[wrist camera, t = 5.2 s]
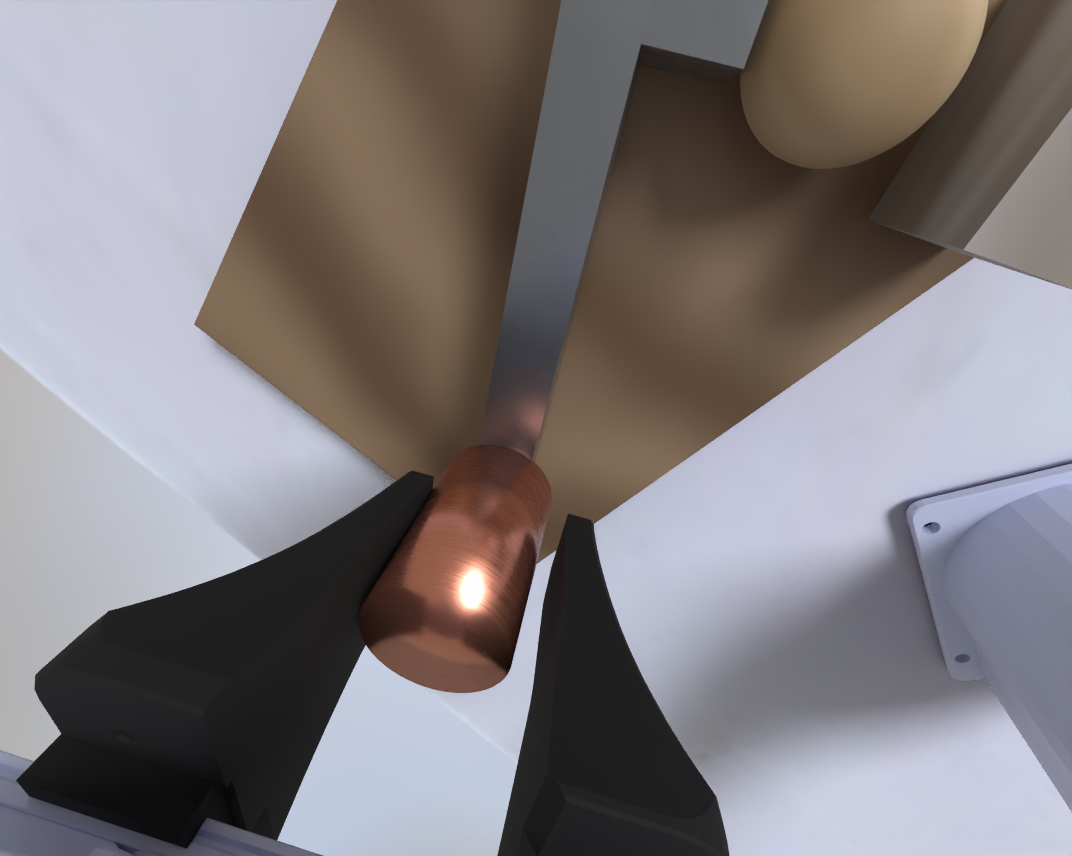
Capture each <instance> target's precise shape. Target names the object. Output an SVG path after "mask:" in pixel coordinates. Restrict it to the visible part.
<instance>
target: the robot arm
mask: <svg viewBox="0 0 1072 856" xmlns="http://www.w3.org/2000/svg"><path fill="white" fill-rule="evenodd" d="M433 480H434V476H431V475H427V474H424V473H420V472H416V471H413V470H412V471H410V472H408V473H407V474H405V475H404V476H402V477H401V478H400V479H398V480H397V481H396V482H394V483H393V484H391V485H390V486H389V487H387V488H386V489H385V490H383V491H382V492H380V493H379V494H377V495H376V496H375V497H373V498H372V499H370V500H369V501H367V502H366V503H364V504H363V505H361V506H360V507H358V508H357V509H355V510H354V511H352V512H351V513H349V514H347V515H346V516H344V517H343V518H341V519H339V520H338V521H336V522H334V523H333V524H331V525H329V526H327V527H326V528H324V529H322V530H321V531H319V532H317V533H316V534H314V535H312V536H310V537H308V538H306V539H305V540H303V541H301V542H299V543H297V544H295V545H293V546H291V547H289V548H287V549H285V550H283V551H281V552H279V553H277V554H274V555H272V556H270V557H268V558H265V559H263V560H261V561H259V562H256V563H254V564H251V565H249V566H247V567H245V568H242V569H240V570H237V571H235V572H232V573H230V574H227V575H224V576H222V577H219V578H216V579H213V580H211V581H208V582H205V583H202V584H199V585H196V586H193V587H191V588H187V589H184V590H181V591H178V592H175V593H172V594H168V595H165V596H161V597H158V598H155V599H151V600H148V601H144V602H140V603H137V604H133V605H130V606H126V607H122V608H119V609H115V610H111V611H108V612H107V613H106V614H105V615H103V616H102V617H101V618H100V619H99V620H97V621H96V622H95V623H93V624H92V625H91V626H90V627H89V628H87V629H86V630H85V631H84V632H83V633H82V634H81V635H79V636H78V637H77V638H76V639H75V640H74V641H73V642H72V643H70V644H69V645H68V646H67V647H66V648H65V649H64V650H62V651H61V652H60V653H59V654H58V655H57V656H56V657H55V658H54V659H52V660H51V661H50V662H49V663H48V664H47V665H46V666H45V667H43V668H42V669H41V670H40V671H39V672H38V673H37V674H36V676H35V691H36V693H37V695H38V698H39V700H40V701H41V703H42V704H43V706H44V707H45V709H46V710H47V712H48V714H49V715H50V716H51V718H52V720H53V721H54V723H55V724H56V726H57V727H58V729H59V730H60V732H61V735H60V736H59V737H58V738H57V739H56V740H55V741H54V742H53V743H52V744H51V745H50V746H49V747H48V748H47V749H46V750H45V751H44V752H43V753H42V754H41V755H40V756H39V757H38V758H37V759H36V760H35V761H32V760H29V759H26V758H22V757H19V756H16V755H13V754H10V753H7V752H4V751H1V750H0V856H322V855H319V854H316V853H313V852H310V851H307V850H304V849H301V848H298V847H295V846H292V845H289V844H286V843H283V842H280V841H277V839H278V837H279V834H280V832H281V830H282V827H283V825H284V822H285V820H286V818H287V815H288V813H289V811H290V808H291V806H292V804H293V801H294V799H295V796H296V794H297V792H298V789H299V787H300V785H301V782H302V780H303V778H304V776H305V773H306V771H307V769H308V767H309V764H310V762H311V760H312V757H313V755H314V753H315V751H316V748H317V746H318V744H319V742H320V740H321V737H322V735H323V733H324V731H325V728H326V726H327V724H328V722H329V720H330V718H331V715H332V713H333V711H334V708H335V707H336V705H337V703H338V700H339V698H340V696H341V694H342V692H343V690H344V688H345V685H346V683H347V681H348V679H349V677H350V675H351V673H352V671H353V669H354V667H355V665H356V663H357V661H358V659H359V657H360V654H361V652H362V651H363V649H364V647H365V645H366V644H365V642H364V640H363V638H362V636H361V634H360V630H359V624H358V618H359V613H360V610H361V607H362V606H363V604H364V602H365V601H366V599H367V597H368V596H369V594H370V592H371V591H372V589H373V588H374V586H375V584H376V583H377V581H378V579H379V578H380V576H381V574H382V573H383V571H384V569H385V568H386V566H387V564H388V563H389V561H390V559H391V558H392V556H393V554H394V553H395V551H396V550H397V548H398V546H399V545H400V543H401V541H402V540H403V538H404V536H405V535H406V533H407V531H408V530H409V528H410V526H411V525H412V523H413V521H414V520H415V518H416V517H417V515H418V513H419V512H420V510H421V508H422V507H423V505H424V503H425V502H426V500H427V498H428V497H429V495H430V493H431V492H432V490H433ZM906 515H907V519H908V523H909V526H910V530H911V534H912V538H913V542H914V546H915V549H916V553H917V557H918V561H919V565H920V568H921V572H922V576H923V580H924V584H925V588H926V591H927V595H928V599H929V603H930V607H931V610H932V614H933V618H934V622H935V626H936V630H937V633H938V637H939V641H940V645H941V649H942V652H943V656H944V660H945V664H946V668H947V670H948V671H949V673H950V675H951V676H952V678H954V679H956V680H959V681H975V680H984V679H985V680H986V681H987V683H988V684H989V686H990V687H991V689H992V690H993V692H994V694H995V695H996V697H997V698H998V700H999V701H1000V703H1001V704H1002V706H1003V707H1004V709H1005V710H1006V712H1007V713H1008V715H1009V717H1010V718H1011V720H1012V721H1013V723H1014V724H1015V726H1016V727H1017V729H1018V730H1019V732H1020V733H1021V735H1022V737H1023V738H1024V740H1025V741H1026V743H1027V744H1028V746H1029V747H1030V749H1031V750H1032V752H1033V753H1034V755H1035V756H1036V758H1037V760H1038V761H1039V763H1040V764H1041V766H1042V767H1043V769H1044V770H1045V772H1046V773H1047V775H1048V776H1049V778H1050V779H1051V781H1052V783H1053V784H1054V786H1055V787H1056V789H1057V790H1058V792H1059V793H1060V795H1061V796H1062V798H1063V799H1064V801H1065V803H1066V804H1067V806H1068V807H1069V809H1070V810H1071V812H1072V464H1068V465H1063V466H1059V467H1055V468H1051V469H1047V470H1043V471H1038V472H1034V473H1030V474H1026V475H1022V476H1018V477H1013V478H1009V479H1005V480H1001V481H997V482H993V483H988V484H984V485H980V486H976V487H972V488H967V489H963V490H959V491H955V492H951V493H947V494H942V495H938V496H934V497H930V498H926V499H922V500H919V501H916V502H914V503H913V504H911V505H910V506H909V507H908V509H907V513H906ZM930 522H933V523H932V524H931V525H929V526H924V525H925V524H927V523H930ZM498 856H729V850H728V843H727V838H726V834H725V830H724V825H723V821H722V817H721V813H720V809H719V805H718V801H717V798H716V796H715V794H714V793H713V791H712V790H711V788H710V787H709V785H708V784H707V783H706V781H705V780H704V778H703V777H702V775H701V774H700V773H699V771H698V770H697V768H696V767H695V765H694V764H693V762H692V761H691V759H690V758H689V756H688V755H687V753H686V752H685V750H684V749H683V747H682V745H681V744H680V742H679V740H678V739H677V737H676V736H675V734H674V732H673V731H672V729H671V727H670V726H669V724H668V722H667V721H666V719H665V717H664V715H663V714H662V712H661V710H660V708H659V706H658V704H657V703H656V701H655V699H654V697H653V695H652V694H651V692H650V690H649V688H648V686H647V684H646V683H645V681H644V679H643V677H642V675H641V672H640V670H639V668H638V666H637V664H636V662H635V660H634V658H633V656H632V653H631V651H630V649H629V647H628V644H627V642H626V640H625V637H624V635H623V632H622V630H621V627H620V624H619V622H618V619H617V616H616V614H615V611H614V608H613V605H612V602H611V599H610V596H609V593H608V589H607V586H606V582H605V579H604V575H603V572H602V568H601V564H600V560H599V555H598V551H597V545H596V540H595V533H594V524H593V522H592V521H591V520H590V519H586V518H583V517H579V516H575V515H572V514H568V515H567V518H566V522H565V525H564V528H563V531H562V535H561V538H560V541H559V544H558V548H557V551H556V554H555V557H554V561H553V564H552V567H551V571H550V576H549V580H548V585H547V589H546V593H545V598H544V602H543V610H542V618H541V626H540V634H539V642H538V651H537V659H536V667H535V676H534V684H533V691H532V697H531V703H530V708H529V713H528V718H527V722H526V727H525V732H524V737H523V741H522V746H521V751H520V755H519V760H518V765H517V770H516V774H515V779H514V784H513V788H512V792H511V797H510V802H509V806H508V811H507V815H506V820H505V824H504V829H503V833H502V838H501V842H500V847H499V852H498Z"/></svg>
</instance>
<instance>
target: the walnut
mask: <svg viewBox="0 0 1072 856" xmlns="http://www.w3.org/2000/svg"><path fill="white" fill-rule="evenodd" d="M987 7H988V0H768V3H767V6H766V9H765V11H764V14H763V17H762V20H761V22H760V25H759V28H758V31H757V34H756V36H755V39H754V42H753V45H752V48H751V50H750V53H749V56H748V59H747V61H746V64H745V67H744V69H743V70H742V71H741V74H740V90H741V100H742V105H743V110H744V113H745V116H746V119H747V122H748V124H749V126H750V128H751V130H752V132H753V134H754V135H755V136H756V138H757V139H758V141H759V142H760V143H761V144H762V145H763V146H764V147H765V148H766V149H767V150H768V151H769V152H771V153H772V154H773V155H775V156H776V157H778V158H780V159H782V160H784V161H786V162H788V163H790V164H793V165H797V166H800V167H805V168H811V169H830V168H838V167H845V166H849V165H853V164H857V163H860V162H863V161H865V160H868V159H870V158H873V157H875V156H877V155H879V154H881V153H883V152H885V151H887V150H889V149H891V148H892V147H894V146H896V145H897V144H899V143H900V142H902V141H903V140H905V139H906V138H907V137H909V136H910V135H911V134H913V133H914V132H915V131H916V130H918V129H919V128H920V127H921V126H922V125H923V124H924V123H925V122H926V121H927V120H928V119H929V118H931V117H932V116H933V115H934V114H935V113H936V111H937V110H938V109H939V108H940V107H941V106H942V105H943V104H944V102H945V101H946V100H947V99H948V98H949V96H950V95H951V93H952V92H953V91H954V89H955V88H956V87H957V85H958V84H959V82H960V80H961V79H962V77H963V75H964V74H965V72H966V70H967V69H968V67H969V65H970V63H971V60H972V58H973V56H974V54H975V52H976V49H977V47H978V44H979V41H980V38H981V36H982V32H983V28H984V24H985V20H986V15H987Z"/></svg>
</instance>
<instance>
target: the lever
mask: <svg viewBox="0 0 1072 856" xmlns="http://www.w3.org/2000/svg"><path fill="white" fill-rule="evenodd" d="M767 3H768V0H561V5H560V10H559V15H558V21H557V26H556V32H555V37H554V42H553V48H552V53H551V59H550V64H549V69H548V75H547V80H546V86H545V91H544V96H543V102H542V107H541V113H540V118H539V123H538V129H537V134H536V140H535V145H534V150H533V156H532V161H531V167H530V172H529V177H528V183H527V188H526V194H525V199H524V204H523V210H522V215H521V221H520V226H519V231H518V237H517V242H516V248H515V253H514V258H513V264H512V269H511V275H510V280H509V286H508V291H507V296H506V302H505V307H504V313H503V318H502V323H501V329H500V334H499V340H498V345H497V350H496V356H495V361H494V367H493V372H492V377H491V383H490V388H489V394H488V399H487V404H486V410H485V415H484V421H483V426H482V431H481V437H480V442H479V445H476V446H472V447H469V448H466V449H464V450H462V451H461V452H459V453H458V454H457V455H455V456H454V457H453V458H452V459H451V461H450V462H449V464H448V465H447V467H446V469H445V470H444V472H443V473H442V475H441V477H440V478H439V480H438V482H437V483H436V485H435V487H434V488H433V490H432V492H431V493H430V495H429V497H428V498H427V500H426V502H425V503H424V505H423V507H422V508H421V510H420V512H419V513H418V515H417V517H416V518H415V520H414V521H413V523H412V525H411V526H410V528H409V530H408V531H407V533H406V535H405V536H404V538H403V540H402V541H401V543H400V545H399V546H398V548H397V550H396V551H395V553H394V554H393V556H392V558H391V559H390V561H389V563H388V564H387V566H386V568H385V569H384V571H383V573H382V574H381V576H380V578H379V579H378V581H377V583H376V584H375V586H374V588H373V589H372V591H371V592H370V594H369V596H368V597H367V599H366V601H365V602H364V604H363V606H362V607H361V610H360V613H359V618H358V624H359V630H360V634H361V636H362V638H363V640H364V642H365V644H366V645H367V647H368V648H369V650H370V651H371V652H372V653H373V654H374V655H375V657H376V658H377V659H378V660H379V661H381V662H382V663H383V664H384V665H385V666H387V667H388V668H389V669H391V670H392V671H394V672H395V673H397V674H398V675H400V676H402V677H404V678H406V679H408V680H410V681H412V682H414V683H417V684H419V685H422V686H425V687H428V688H431V689H435V690H440V691H445V692H453V693H470V692H477V691H482V690H486V689H488V688H491V687H493V686H495V685H496V684H498V683H500V682H501V681H502V680H503V679H504V678H505V677H506V675H507V674H508V672H509V670H510V668H511V664H512V660H513V656H514V652H515V648H516V644H517V640H518V636H519V632H520V628H521V624H522V620H523V616H524V612H525V608H526V604H527V600H528V596H529V592H530V588H531V584H532V580H533V576H534V571H535V567H536V563H537V559H538V555H539V551H540V547H541V543H542V539H543V535H544V531H545V527H546V523H547V519H548V515H549V511H550V507H551V502H552V493H551V488H550V484H549V482H548V479H547V477H546V476H545V474H544V472H543V471H542V470H541V469H540V467H539V466H538V465H537V464H536V463H535V460H536V456H537V452H538V448H539V445H540V441H541V437H542V433H543V430H544V426H545V422H546V418H547V415H548V411H549V407H550V403H551V400H552V396H553V392H554V388H555V385H556V381H557V377H558V373H559V370H560V366H561V362H562V358H563V355H564V351H565V347H566V343H567V340H568V336H569V332H570V328H571V325H572V321H573V317H574V313H575V310H576V306H577V302H578V298H579V295H580V291H581V287H582V283H583V280H584V276H585V272H586V268H587V265H588V261H589V257H590V253H591V250H592V246H593V242H594V238H595V235H596V231H597V227H598V223H599V220H600V216H601V212H602V208H603V205H604V201H605V197H606V193H607V190H608V186H609V182H610V178H611V175H612V171H613V167H614V163H615V160H616V156H617V152H618V148H619V145H620V141H621V137H622V133H623V130H624V126H625V122H626V118H627V115H628V111H629V107H630V103H631V100H632V96H633V92H634V88H635V85H636V81H637V77H638V73H639V70H640V66H641V65H642V66H646V67H650V68H654V69H658V70H662V71H666V72H670V73H674V74H678V75H682V76H686V77H690V78H694V79H698V80H702V81H706V82H710V83H714V84H718V85H723V84H725V83H726V82H727V81H729V80H730V79H731V78H733V77H734V76H735V75H737V74H738V73H739V72H741V71H742V70H743V69H744V67H745V64H746V61H747V59H748V56H749V53H750V50H751V48H752V45H753V42H754V39H755V36H756V34H757V31H758V28H759V25H760V22H761V20H762V17H763V14H764V11H765V9H766V6H767Z"/></svg>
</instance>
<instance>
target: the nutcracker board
mask: <svg viewBox="0 0 1072 856" xmlns="http://www.w3.org/2000/svg"><path fill="white" fill-rule="evenodd" d="M560 5H561V0H337V3H336V5H335V7H334V9H333V12H332V14H331V16H330V18H329V21H328V23H327V25H326V27H325V30H324V32H323V34H322V36H321V39H320V41H319V43H318V45H317V48H316V50H315V52H314V55H313V57H312V59H311V61H310V64H309V66H308V68H307V70H306V73H305V75H304V77H303V79H302V82H301V84H300V86H299V88H298V91H297V93H296V95H295V98H294V100H293V102H292V104H291V107H290V109H289V111H288V113H287V116H286V118H285V120H284V122H283V125H282V127H281V129H280V131H279V134H278V136H277V138H276V141H275V143H274V145H273V147H272V150H271V152H270V154H269V156H268V159H267V161H266V163H265V165H264V168H263V170H262V172H261V174H260V177H259V179H258V181H257V183H256V186H255V188H254V190H253V193H252V195H251V197H250V199H249V202H248V204H247V206H246V208H245V211H244V213H243V215H242V217H241V220H240V222H239V224H238V226H237V229H236V231H235V233H234V236H233V238H232V240H231V242H230V245H229V247H228V249H227V251H226V254H225V256H224V258H223V260H222V263H221V265H220V267H219V269H218V272H217V274H216V276H215V279H214V281H213V283H212V285H211V288H210V290H209V292H208V294H207V297H206V299H205V301H204V303H203V306H202V308H201V310H200V312H199V315H198V317H197V319H196V321H195V324H194V325H196V326H197V327H198V328H200V329H201V330H202V331H203V332H205V333H206V334H207V335H209V336H210V337H211V338H213V339H214V340H215V341H216V342H218V343H219V344H220V345H222V346H223V347H224V348H226V349H227V350H228V351H229V352H231V353H232V354H233V355H235V356H236V357H237V358H239V359H240V360H241V361H242V362H244V363H245V364H246V365H248V366H249V367H250V368H252V369H253V370H254V371H255V372H257V373H258V374H259V375H261V376H262V377H263V378H265V379H266V380H267V381H268V382H270V383H271V384H272V385H274V386H275V387H276V388H278V389H279V390H280V391H281V392H283V393H284V394H285V395H287V396H288V397H289V398H291V399H292V400H293V401H294V402H296V403H297V404H298V405H300V406H301V407H302V408H304V409H305V410H306V411H307V412H309V413H310V414H311V415H313V416H314V417H315V418H317V419H318V420H319V421H320V422H322V423H323V424H324V425H326V426H327V427H328V428H330V429H331V430H332V431H333V432H335V433H336V434H337V435H339V436H340V437H341V438H343V439H344V440H345V441H346V442H348V443H349V444H350V445H352V446H353V447H354V448H356V449H357V450H358V451H359V452H361V453H362V454H363V455H365V456H366V457H367V458H369V459H370V460H371V461H372V462H374V463H375V464H376V465H378V466H379V467H380V468H382V469H383V470H384V471H385V472H387V473H388V474H389V475H391V476H392V477H393V478H395V479H396V480H398V479H400V478H401V477H402V476H404V475H405V474H407V473H408V472H410V471H412V470H413V471H416V472H420V473H424V474H427V475H431V476H434V480H433V488H434V487H435V485H436V483H437V482H438V480H439V478H440V477H441V475H442V473H443V472H444V470H445V469H446V467H447V465H448V464H449V462H450V461H451V459H452V458H453V457H454V456H455V455H457V454H458V453H459V452H461V451H462V450H464V449H466V448H469V447H472V446H476V445H479V442H480V437H481V431H482V426H483V421H484V415H485V410H486V404H487V399H488V394H489V388H490V383H491V377H492V372H493V367H494V361H495V356H496V350H497V345H498V340H499V334H500V329H501V323H502V318H503V313H504V307H505V302H506V296H507V291H508V286H509V280H510V275H511V269H512V264H513V258H514V253H515V248H516V242H517V237H518V231H519V226H520V221H521V215H522V210H523V204H524V199H525V194H526V188H527V183H528V177H529V172H530V167H531V161H532V156H533V150H534V145H535V140H536V134H537V129H538V123H539V118H540V113H541V107H542V102H543V96H544V91H545V86H546V80H547V75H548V69H549V64H550V59H551V53H552V48H553V42H554V37H555V32H556V26H557V21H558V15H559V10H560ZM740 74H741V72H739V73H738V74H737V75H735V76H734V77H733V78H731V79H730V80H729V81H727V82H726V83H725V84H723V85H718V84H714V83H710V82H706V81H702V80H698V79H694V78H690V77H686V76H682V75H678V74H674V73H670V72H666V71H662V70H658V69H654V68H650V67H646V66H642V65H641V66H640V70H639V73H638V77H637V81H636V85H635V88H634V92H633V96H632V100H631V103H630V107H629V111H628V115H627V118H626V122H625V126H624V130H623V133H622V137H621V141H620V145H619V148H618V152H617V156H616V160H615V163H614V167H613V171H612V175H611V178H610V182H609V186H608V190H607V193H606V197H605V201H604V205H603V208H602V212H601V216H600V220H599V223H598V227H597V231H596V235H595V238H594V242H593V246H592V250H591V253H590V257H589V261H588V265H587V268H586V272H585V276H584V280H583V283H582V287H581V291H580V295H579V298H578V302H577V306H576V310H575V313H574V317H573V321H572V325H571V328H570V332H569V336H568V340H567V343H566V347H565V351H564V355H563V358H562V362H561V366H560V370H559V373H558V377H557V381H556V385H555V388H554V392H553V396H552V400H551V403H550V407H549V411H548V415H547V418H546V422H545V426H544V430H543V433H542V437H541V441H540V445H539V448H538V452H537V456H536V460H535V463H536V464H537V465H538V466H539V467H540V469H541V470H542V471H543V472H544V474H545V476H546V477H547V479H548V482H549V484H550V488H551V493H552V502H551V507H550V511H549V515H548V519H547V523H546V527H545V531H544V535H543V539H542V543H541V547H540V551H539V555H538V559H537V563H539V562H540V561H541V560H543V559H544V558H546V557H547V556H549V555H550V554H551V553H553V552H554V551H556V550H557V548H558V544H559V541H560V538H561V535H562V531H563V528H564V525H565V522H566V518H567V515H568V514H572V515H575V516H579V517H583V518H586V519H590V520H591V521H592V522H593V524H594V523H596V522H597V521H599V520H600V519H601V518H603V517H604V516H606V515H607V514H609V513H610V512H611V511H613V510H614V509H616V508H617V507H619V506H620V505H621V504H623V503H624V502H626V501H627V500H629V499H630V498H631V497H633V496H634V495H636V494H637V493H639V492H640V491H641V490H643V489H644V488H646V487H647V486H649V485H650V484H651V483H653V482H654V481H656V480H657V479H659V478H660V477H661V476H663V475H664V474H666V473H667V472H669V471H670V470H671V469H673V468H674V467H676V466H677V465H679V464H680V463H681V462H683V461H684V460H686V459H687V458H689V457H690V456H691V455H693V454H694V453H696V452H697V451H699V450H700V449H701V448H703V447H704V446H706V445H707V444H709V443H710V442H711V441H713V440H714V439H716V438H717V437H719V436H720V435H721V434H723V433H724V432H726V431H727V430H729V429H730V428H731V427H733V426H734V425H736V424H737V423H739V422H740V421H741V420H743V419H744V418H746V417H747V416H749V415H750V414H751V413H753V412H754V411H756V410H757V409H759V408H760V407H761V406H763V405H764V404H766V403H767V402H769V401H770V400H771V399H773V398H774V397H776V396H777V395H779V394H780V393H781V392H783V391H784V390H786V389H787V388H789V387H790V386H791V385H793V384H794V383H796V382H797V381H799V380H800V379H801V378H803V377H804V376H806V375H807V374H809V373H810V372H811V371H813V370H814V369H816V368H817V367H819V366H820V365H821V364H823V363H824V362H826V361H827V360H829V359H830V358H831V357H833V356H834V355H836V354H837V353H839V352H840V351H841V350H843V349H844V348H846V347H847V346H849V345H850V344H851V343H853V342H854V341H856V340H857V339H859V338H860V337H861V336H863V335H864V334H866V333H867V332H869V331H870V330H871V329H873V328H874V327H876V326H877V325H879V324H880V323H881V322H883V321H884V320H886V319H887V318H889V317H890V316H891V315H893V314H894V313H896V312H897V311H899V310H900V309H901V308H903V307H904V306H906V305H907V304H909V303H910V302H911V301H913V300H914V299H916V298H917V297H919V296H920V295H921V294H923V293H924V292H926V291H927V290H929V289H930V288H931V287H933V286H934V285H936V284H937V283H939V282H940V281H941V280H943V279H944V278H946V277H947V276H949V275H950V274H951V273H953V272H954V271H956V270H957V269H959V268H960V267H961V266H963V265H964V264H966V263H967V262H969V261H970V260H971V259H973V258H977V259H980V260H984V261H987V262H990V263H993V264H996V265H999V266H1002V267H1005V268H1008V269H1011V270H1014V271H1017V272H1020V273H1023V274H1027V275H1030V276H1033V277H1036V278H1039V279H1042V280H1045V281H1048V282H1051V283H1054V284H1057V285H1060V286H1063V287H1066V288H1069V289H1072V0H988V7H987V15H986V20H985V24H984V28H983V32H982V36H981V38H980V41H979V44H978V47H977V49H976V52H975V54H974V56H973V58H972V60H971V63H970V65H969V67H968V69H967V70H966V72H965V74H964V75H963V77H962V79H961V80H960V82H959V84H958V85H957V87H956V88H955V89H954V91H953V92H952V93H951V95H950V96H949V98H948V99H947V100H946V101H945V102H944V104H943V105H942V106H941V107H940V108H939V109H938V110H937V111H936V113H935V114H934V115H933V116H932V117H931V118H929V119H928V120H927V121H926V122H925V123H924V124H923V125H922V126H921V127H920V128H919V129H918V130H916V131H915V132H914V133H913V134H911V135H910V136H909V137H907V138H906V139H905V140H903V141H902V142H900V143H899V144H897V145H896V146H894V147H892V148H891V149H889V150H887V151H885V152H883V153H881V154H879V155H877V156H875V157H873V158H870V159H868V160H865V161H863V162H860V163H857V164H853V165H849V166H845V167H838V168H830V169H811V168H805V167H800V166H797V165H793V164H790V163H788V162H786V161H784V160H782V159H780V158H778V157H776V156H775V155H773V154H772V153H771V152H769V151H768V150H767V149H766V148H765V147H764V146H763V145H762V144H761V143H760V142H759V141H758V139H757V138H756V136H755V135H754V134H753V132H752V130H751V128H750V126H749V124H748V122H747V119H746V116H745V113H744V110H743V105H742V100H741V90H740ZM537 563H536V564H537Z"/></svg>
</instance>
